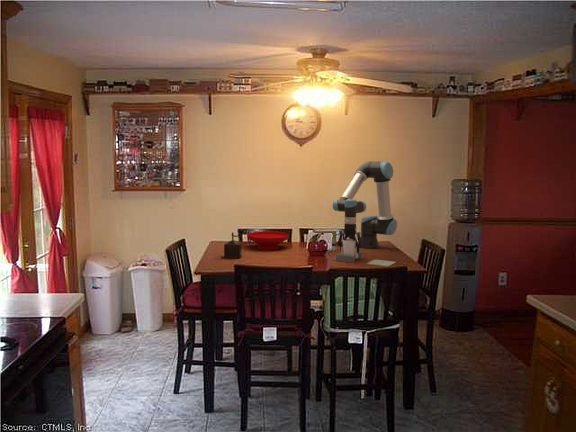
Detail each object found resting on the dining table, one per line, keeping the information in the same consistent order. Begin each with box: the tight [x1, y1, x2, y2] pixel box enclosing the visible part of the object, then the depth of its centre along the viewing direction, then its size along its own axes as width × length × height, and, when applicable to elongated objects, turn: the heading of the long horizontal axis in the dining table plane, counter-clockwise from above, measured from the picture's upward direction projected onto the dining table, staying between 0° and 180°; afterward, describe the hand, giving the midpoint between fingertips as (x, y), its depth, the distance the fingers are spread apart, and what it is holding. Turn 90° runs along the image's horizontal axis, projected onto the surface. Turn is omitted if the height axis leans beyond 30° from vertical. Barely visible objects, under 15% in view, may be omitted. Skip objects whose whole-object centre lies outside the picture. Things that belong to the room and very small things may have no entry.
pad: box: [366, 259, 397, 268], centre depth 331 cm, size 14×14×1 cm
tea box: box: [312, 228, 337, 252], centre depth 375 cm, size 15×10×15 cm
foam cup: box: [342, 238, 358, 256], centre depth 341 cm, size 10×9×13 cm
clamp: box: [332, 251, 364, 264], centre depth 342 cm, size 16×14×4 cm
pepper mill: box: [223, 228, 244, 260], centre depth 348 cm, size 16×11×18 cm
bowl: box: [246, 230, 290, 251], centre depth 382 cm, size 30×30×10 cm
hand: (349, 257), depth 342 cm, fingers closed on foam cup, 9 cm apart
